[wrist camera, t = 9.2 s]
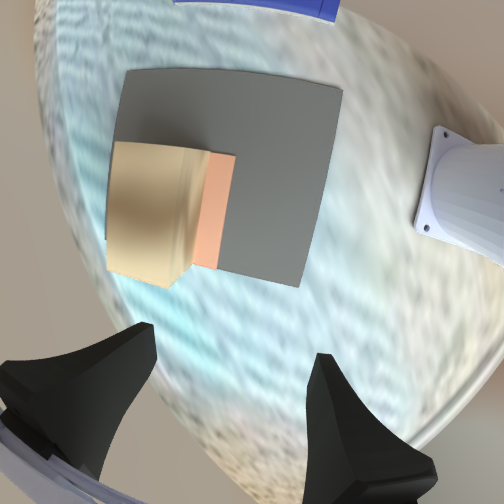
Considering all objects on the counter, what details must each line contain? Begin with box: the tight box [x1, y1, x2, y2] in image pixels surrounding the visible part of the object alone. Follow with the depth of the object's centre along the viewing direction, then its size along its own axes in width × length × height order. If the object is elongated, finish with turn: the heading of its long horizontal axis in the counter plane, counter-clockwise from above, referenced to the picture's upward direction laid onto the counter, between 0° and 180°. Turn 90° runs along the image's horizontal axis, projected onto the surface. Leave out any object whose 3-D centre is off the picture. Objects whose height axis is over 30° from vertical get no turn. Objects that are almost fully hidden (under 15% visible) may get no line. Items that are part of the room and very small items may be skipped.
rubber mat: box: [105, 68, 343, 288], centre depth 18 cm, size 16×14×1 cm
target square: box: [193, 152, 236, 270], centre depth 19 cm, size 8×8×1 cm
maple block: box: [107, 141, 210, 289], centre depth 17 cm, size 8×4×4 cm, turn 169°
